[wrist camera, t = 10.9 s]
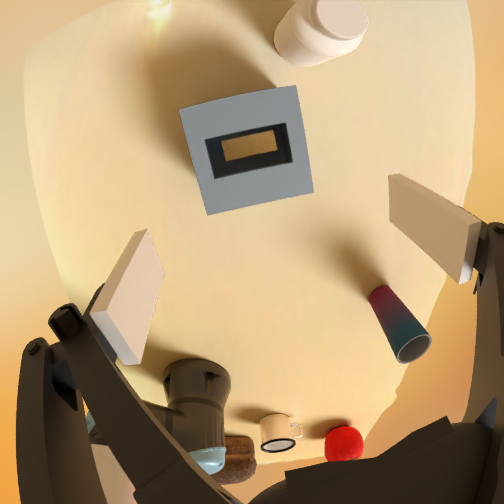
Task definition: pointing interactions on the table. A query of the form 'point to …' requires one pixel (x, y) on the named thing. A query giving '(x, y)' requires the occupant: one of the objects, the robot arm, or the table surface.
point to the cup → (399, 325)
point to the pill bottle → (320, 30)
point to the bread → (237, 461)
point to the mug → (277, 433)
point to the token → (248, 143)
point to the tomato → (343, 444)
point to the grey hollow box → (255, 166)
